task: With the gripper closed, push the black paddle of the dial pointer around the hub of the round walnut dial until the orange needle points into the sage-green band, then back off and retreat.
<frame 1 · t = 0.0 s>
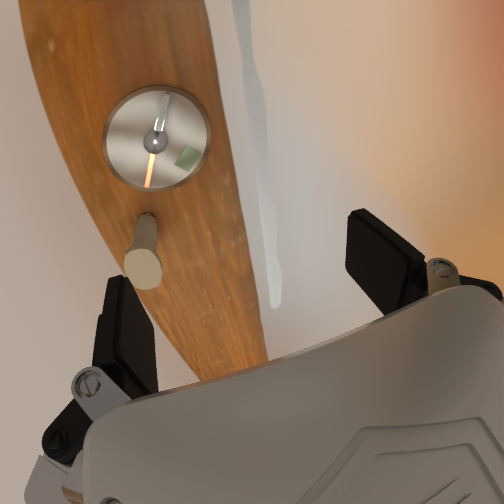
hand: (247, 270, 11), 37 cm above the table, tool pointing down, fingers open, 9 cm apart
dial pointer: (155, 143, 36), point 5 cm above the table, hinge at 0.0°
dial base: (156, 138, 41), on the table
handle: (147, 219, 48), on the table
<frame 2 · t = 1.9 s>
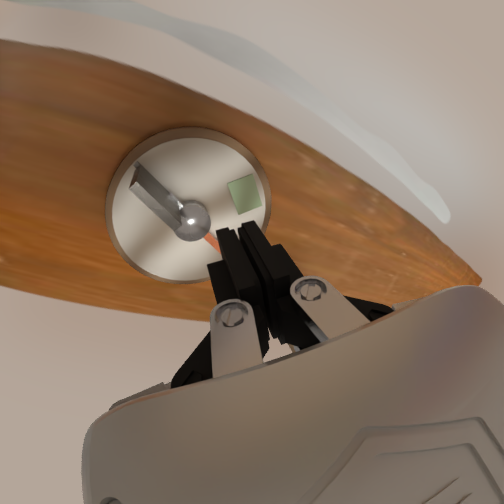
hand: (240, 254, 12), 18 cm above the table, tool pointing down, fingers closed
dial pointer: (193, 230, 25), point 5 cm above the table, hinge at 0.0°
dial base: (187, 207, 29), on the table
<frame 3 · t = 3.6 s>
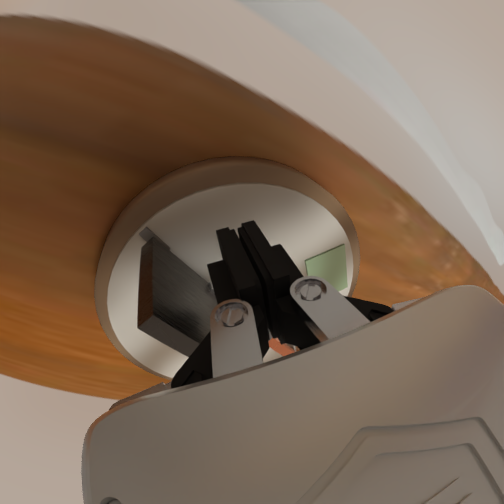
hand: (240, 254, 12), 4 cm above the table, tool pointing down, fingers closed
dial pointer: (253, 347, 15), point 5 cm above the table, hinge at 0.8°, touching gripper
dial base: (230, 286, 19), on the table
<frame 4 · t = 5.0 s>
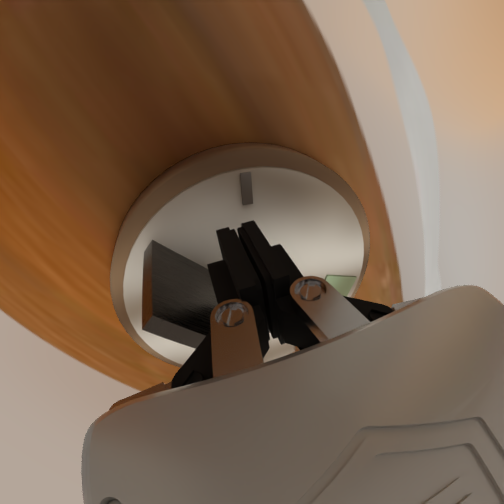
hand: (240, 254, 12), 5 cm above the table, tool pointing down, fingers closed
dial pointer: (270, 329, 15), point 5 cm above the table, hinge at 44.9°, touching gripper
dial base: (244, 272, 19), on the table
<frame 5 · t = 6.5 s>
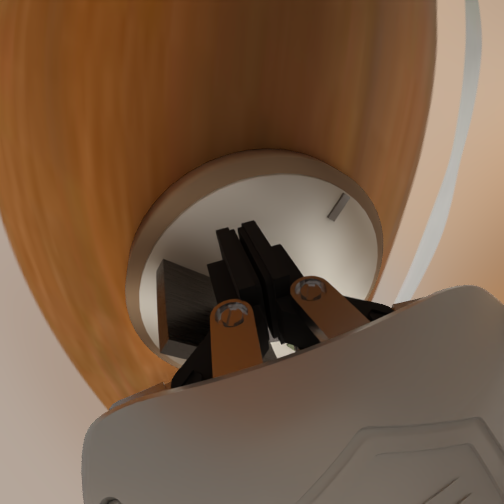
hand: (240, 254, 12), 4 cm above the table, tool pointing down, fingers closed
dial pointer: (288, 335, 15), point 5 cm above the table, hinge at 86.7°, touching gripper
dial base: (259, 278, 19), on the table
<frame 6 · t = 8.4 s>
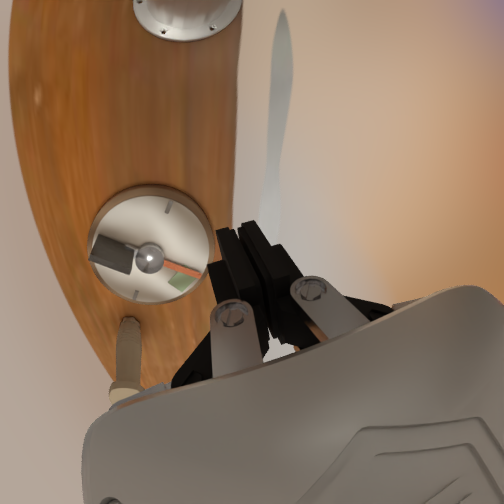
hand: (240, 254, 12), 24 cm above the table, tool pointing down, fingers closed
dial pointer: (149, 266, 33), point 5 cm above the table, hinge at 86.7°
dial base: (150, 245, 37), on the table
handle: (130, 322, 42), on the table
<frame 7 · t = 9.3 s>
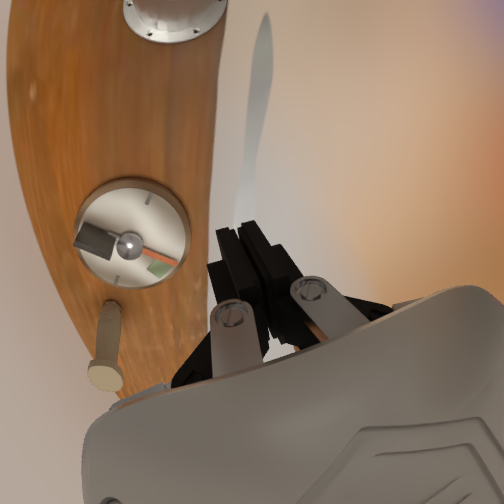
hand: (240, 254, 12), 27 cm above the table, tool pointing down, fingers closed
dial pointer: (128, 253, 34), point 5 cm above the table, hinge at 86.7°
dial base: (131, 234, 39), on the table
handle: (111, 305, 44), on the table
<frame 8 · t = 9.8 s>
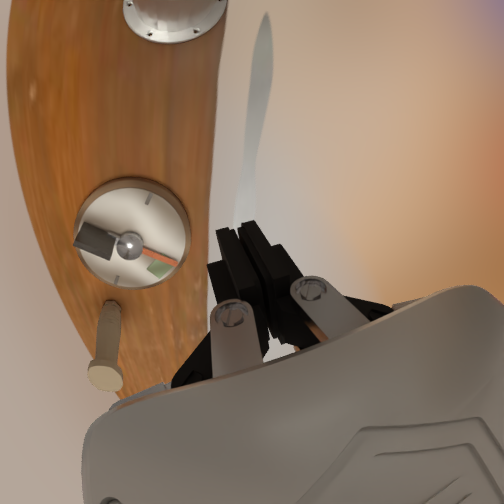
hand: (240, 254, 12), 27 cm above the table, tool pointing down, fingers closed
dial pointer: (128, 253, 34), point 5 cm above the table, hinge at 86.7°
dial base: (131, 234, 39), on the table
handle: (111, 305, 44), on the table
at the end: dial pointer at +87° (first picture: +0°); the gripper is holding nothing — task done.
